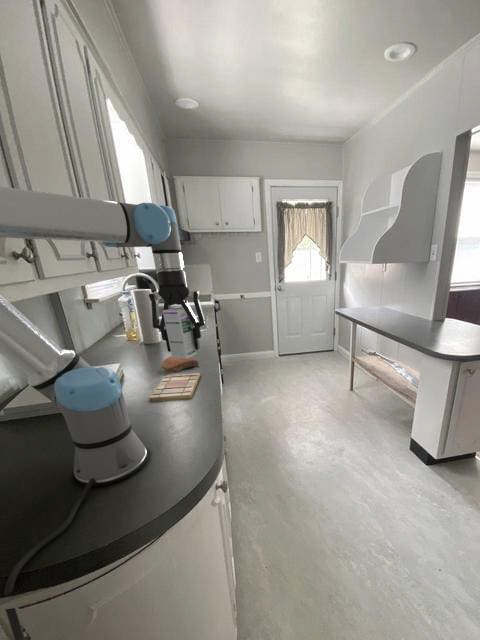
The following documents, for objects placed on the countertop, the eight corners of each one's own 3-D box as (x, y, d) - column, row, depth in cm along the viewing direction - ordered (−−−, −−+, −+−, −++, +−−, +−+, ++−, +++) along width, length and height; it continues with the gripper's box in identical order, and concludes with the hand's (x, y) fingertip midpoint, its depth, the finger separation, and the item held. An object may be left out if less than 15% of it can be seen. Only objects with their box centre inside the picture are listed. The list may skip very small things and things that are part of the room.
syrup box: (187, 359, 90) (178, 309, 85) (171, 357, 92) (161, 309, 87) (198, 353, 95) (191, 306, 90) (183, 352, 97) (175, 306, 92)
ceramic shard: (149, 358, 135) (177, 354, 148) (151, 372, 136) (179, 367, 149) (170, 358, 127) (198, 354, 140) (172, 373, 129) (199, 368, 141)
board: (190, 398, 107) (190, 394, 106) (150, 401, 106) (149, 397, 105) (200, 376, 127) (199, 372, 127) (165, 378, 126) (165, 375, 125)
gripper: (209, 268, 88) (219, 344, 97) (137, 271, 87) (153, 348, 96) (205, 269, 82) (216, 350, 90) (127, 272, 80) (145, 355, 89)
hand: (184, 349), depth 93 cm, fingers closed on syrup box, 7 cm apart
